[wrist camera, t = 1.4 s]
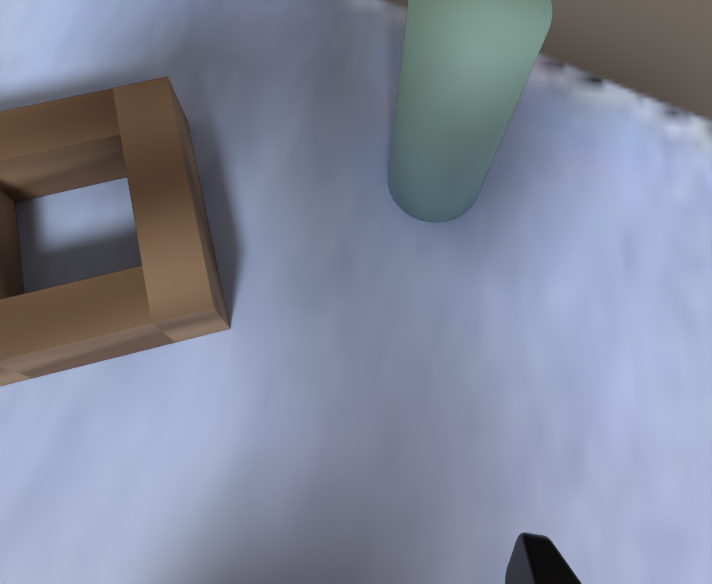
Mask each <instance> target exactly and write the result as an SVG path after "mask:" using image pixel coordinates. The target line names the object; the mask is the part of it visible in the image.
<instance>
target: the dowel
mask: <svg viewBox="0 0 712 584" xmlns="http://www.w3.org/2000/svg"><path fill="white" fill-rule="evenodd" d="M551 20H552V4H551V1H550V0H408V8H407V16H406V25H405V33H404V42H403V51H402V59H401V68H400V77H399V85H398V94H397V102H396V111H395V120H394V128H393V137H392V146H391V154H390V163H389V171H388V186H389V190H390V193H391V195H392V197H393V199H394V201H395V202H396V203H397V205H398V206H399V207H400V208H401V209H402V210H403V211H405V212H406V213H407V214H409V215H411V216H412V217H414V218H417V219H419V220H423V221H428V222H444V221H449V220H452V219H455V218H457V217H459V216H461V215H462V214H463V213H465V212H466V211H467V210H468V209H469V208H470V207H471V206H472V205H473V203H474V202H475V200H476V198H477V195H478V193H479V191H480V188H481V186H482V184H483V181H484V179H485V177H486V174H487V172H488V170H489V168H490V165H491V163H492V161H493V158H494V156H495V154H496V151H497V149H498V147H499V144H500V142H501V140H502V137H503V135H504V133H505V130H506V128H507V126H508V123H509V121H510V119H511V116H512V114H513V112H514V109H515V107H516V105H517V102H518V100H519V98H520V95H521V93H522V91H523V88H524V86H525V84H526V81H527V79H528V77H529V74H530V72H531V70H532V67H533V65H534V63H535V61H536V58H537V56H538V54H539V51H540V49H541V47H542V44H543V42H544V39H545V37H546V35H547V32H548V30H549V28H550V24H551Z"/></svg>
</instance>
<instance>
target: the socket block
mask: <svg viewBox="0 0 712 584" xmlns="http://www.w3.org/2000/svg"><path fill="white" fill-rule="evenodd" d="M125 177H127V178H128V184H129V190H130V196H131V202H132V208H133V214H134V220H135V226H136V232H137V238H138V244H139V250H140V256H141V262H142V266H139V267H135V268H130V269H126V270H122V271H118V272H114V273H109V274H105V275H101V276H97V277H93V278H89V279H84V280H80V281H76V282H72V283H68V284H63V285H59V286H55V287H51V288H47V289H42V290H38V291H34V292H30V293H26V294H24V288H23V278H22V268H21V258H20V249H19V239H18V229H17V219H16V209H15V202H19V201H23V200H28V199H32V198H36V197H41V196H45V195H50V194H54V193H59V192H63V191H67V190H72V189H76V188H81V187H85V186H90V185H94V184H99V183H103V182H107V181H112V180H116V179H121V178H125ZM227 329H230V326H229V321H228V316H227V312H226V307H225V302H224V297H223V292H222V287H221V283H220V278H219V273H218V268H217V263H216V258H215V254H214V249H213V244H212V239H211V234H210V229H209V225H208V220H207V215H206V210H205V205H204V200H203V196H202V191H201V186H200V181H199V176H198V171H197V167H196V162H195V157H194V152H193V147H192V142H191V138H190V133H189V128H188V123H187V119H186V117H185V115H184V112H183V110H182V108H181V106H180V103H179V101H178V99H177V97H176V94H175V92H174V90H173V88H172V86H171V83H170V81H169V79H168V77H162V78H158V79H153V80H148V81H144V82H139V83H134V84H129V85H125V86H120V87H115V88H111V89H106V90H101V91H97V92H92V93H87V94H82V95H78V96H73V97H68V98H64V99H59V100H54V101H50V102H45V103H40V104H35V105H31V106H26V107H21V108H17V109H12V110H7V111H3V112H0V386H3V385H7V384H11V383H15V382H19V381H23V380H27V379H31V378H35V377H39V376H43V375H47V374H51V373H55V372H59V371H63V370H67V369H71V368H75V367H79V366H83V365H87V364H91V363H95V362H99V361H103V360H107V359H111V358H115V357H119V356H123V355H127V354H131V353H135V352H139V351H143V350H147V349H151V348H155V347H159V346H163V345H167V344H171V343H175V342H179V341H183V340H187V339H191V338H195V337H199V336H203V335H207V334H211V333H215V332H219V331H223V330H227Z"/></svg>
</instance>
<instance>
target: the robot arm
mask: <svg viewBox="0 0 712 584" xmlns="http://www.w3.org/2000/svg"><path fill="white" fill-rule="evenodd" d="M505 584H582V583H581V582H580V580H579V579H578V578H577V576H576V575H575V573H574V572H573V571H572V569H571V568H570V566H569V565H568V564H567V562H566V561H565V559H564V558H563V557H562V555H561V554H560V552H559V551H558V549H557V548H556V547H555V545H554V544H553V542H552V541H551V540H550V539H549V538H548V537H546V536H543V535H537V534H531V533H525V532H524V533H521V534H520V535H519V536H518V538H517V540H516V543H515V546H514V549H513V552H512V555H511V558H510V561H509V564H508V567H507V570H506V577H505Z"/></svg>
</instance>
